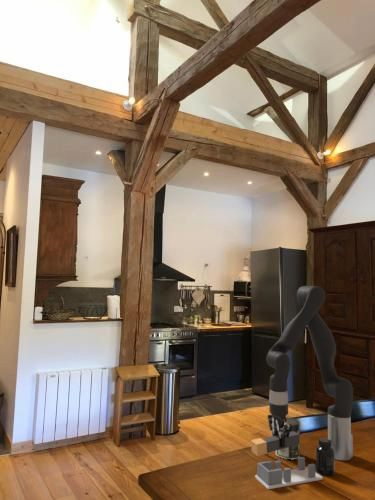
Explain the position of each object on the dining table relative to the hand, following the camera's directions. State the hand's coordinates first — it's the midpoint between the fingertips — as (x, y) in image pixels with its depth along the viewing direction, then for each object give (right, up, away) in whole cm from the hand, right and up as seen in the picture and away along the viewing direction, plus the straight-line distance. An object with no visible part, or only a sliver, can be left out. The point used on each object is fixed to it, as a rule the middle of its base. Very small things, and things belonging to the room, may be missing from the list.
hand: (279, 444), depth 156 cm
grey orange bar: (-1, -1, -1) cm, 2 cm away
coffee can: (+6, -9, +10) cm, 15 cm away
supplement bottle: (+17, -8, -5) cm, 19 cm away
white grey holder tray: (+1, -7, -11) cm, 13 cm away
